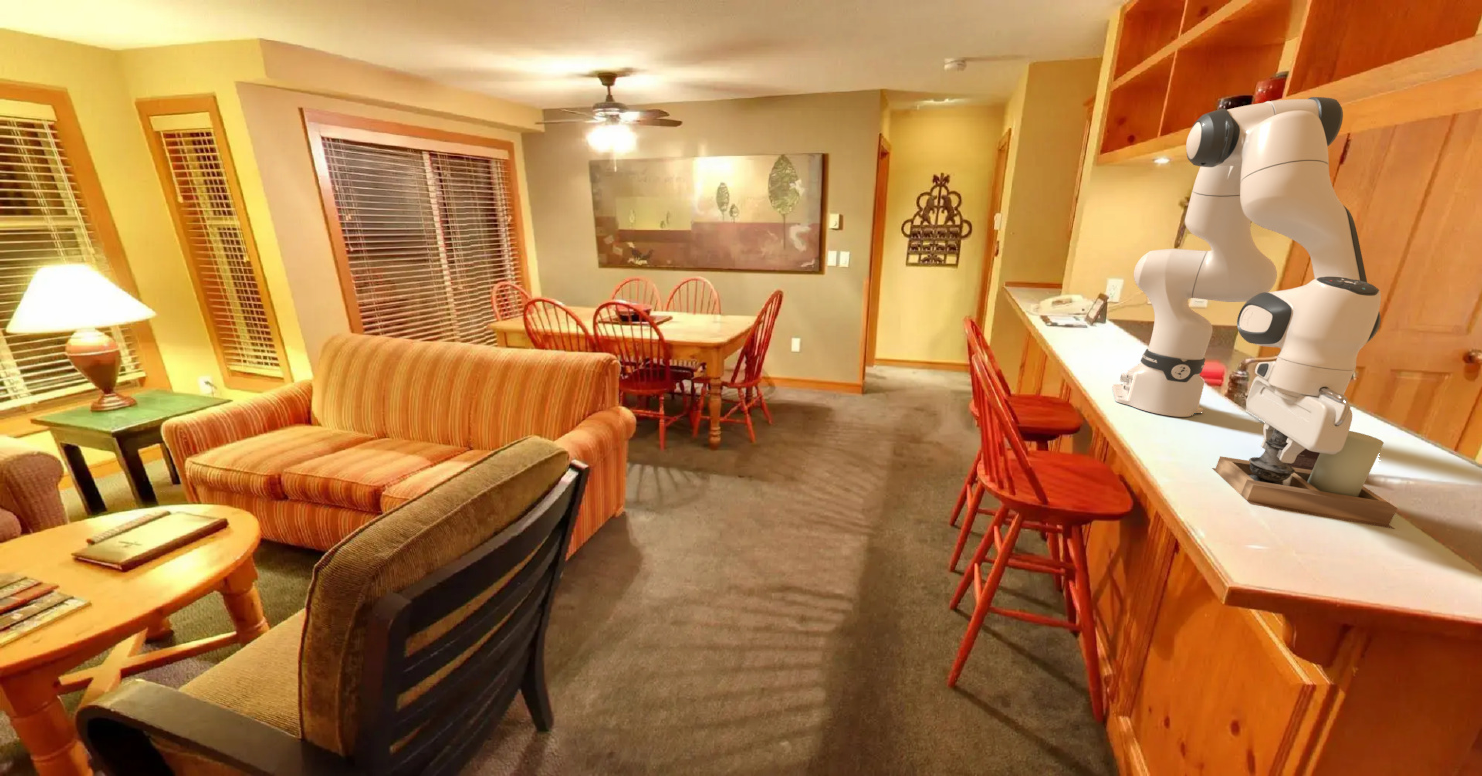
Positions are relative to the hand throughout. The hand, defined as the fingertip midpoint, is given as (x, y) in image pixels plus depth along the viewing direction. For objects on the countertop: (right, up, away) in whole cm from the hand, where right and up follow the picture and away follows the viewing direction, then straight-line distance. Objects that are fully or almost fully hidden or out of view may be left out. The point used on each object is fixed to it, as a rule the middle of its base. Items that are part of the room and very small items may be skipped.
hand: (1276, 455), depth 91 cm
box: (+18, -5, +14) cm, 23 cm away
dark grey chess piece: (0, -5, +2) cm, 6 cm away
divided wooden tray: (+4, -8, +1) cm, 9 cm away
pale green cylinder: (+8, -8, 0) cm, 11 cm away
